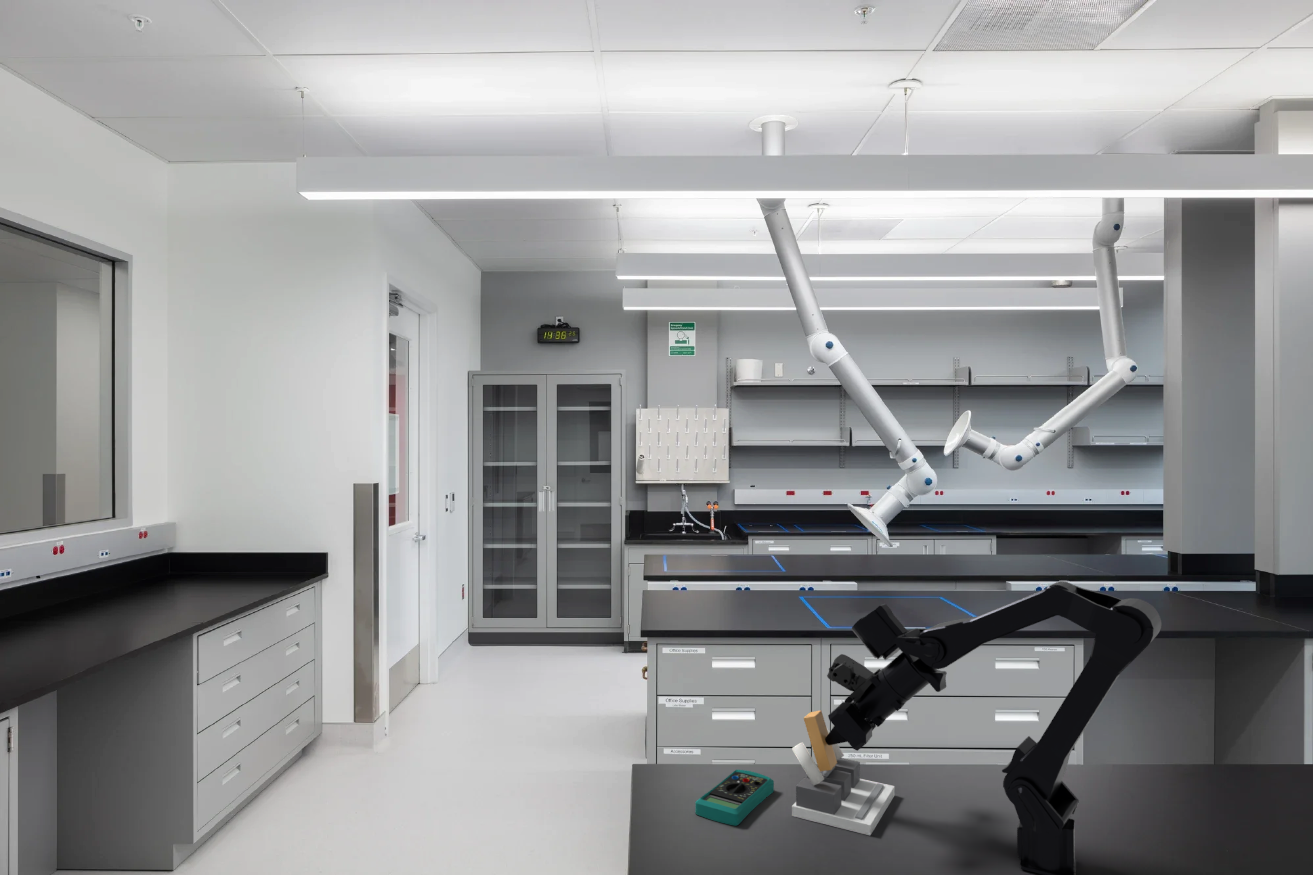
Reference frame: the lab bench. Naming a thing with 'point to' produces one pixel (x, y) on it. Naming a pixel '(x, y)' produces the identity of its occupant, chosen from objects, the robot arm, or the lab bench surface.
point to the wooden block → (820, 742)
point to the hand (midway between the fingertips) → (826, 741)
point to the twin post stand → (839, 794)
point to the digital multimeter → (734, 797)
